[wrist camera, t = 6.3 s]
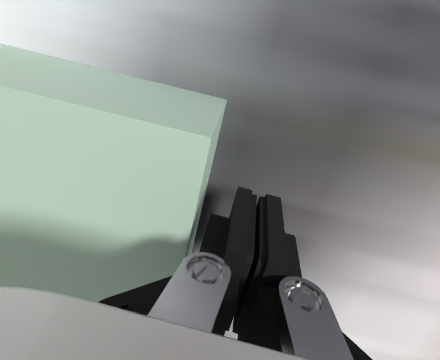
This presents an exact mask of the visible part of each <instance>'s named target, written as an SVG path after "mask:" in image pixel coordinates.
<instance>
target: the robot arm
mask: <svg viewBox="0 0 440 360" xmlns="http://www.w3.org/2000/svg"><path fill="white" fill-rule="evenodd" d="M256 200H257V195H253V194H252V190H249V189H245V188H241V187H238V189H237V192H236V196H235V199H234V203H233V206H232V210H231V214H230V217H229V218H226V217H222V216H219V215H215V214H211V215H210V218H209V221H208V224H207V228H206V231H205V234H204V238H203V241H202V244H201V248H200V251H199V252H196V253H192V254H189V255H187V256H186V257H185V258H184V259H183V260H182V262H181V264H180V265H179V267H178V268H177V270H176V271H175V273H174V275H172V276H170V277H167V278H164V279H161V280H158V281H155V282H152V283H149V284H146V285H143V286H140V287H137V288H134V289H131V290H129V291H126V292H123V293H120V294H117V295H114V296H111V297H108V298H105V299H103V300H101V301H99V302H94V301H90V300H85V299H81V298H77V297H73V296H68V295H64V294H60V293H55V292H51V291H45V290H39V289H32V288H26V287H11V286H0V360H372V359H371V358H370V357H369V356H368V355H367V354H366V353H365V352H364V351H362V350H361V349H360V348H359V347H358V346H357V345H356V344H355V343H354V342H353V341H352V340H351V339H349V338H348V337H347V336H346V335H345V334H344V333H343V332H342V331H341V329H340V326H339V324H338V322H337V319H336V317H335V315H334V312H333V310H332V308H331V305H330V303H329V301H328V298H327V297H326V295H325V293H324V292H323V291H322V290H321V289H320V288H319V287H318V286H317V285H315V284H314V283H312V282H311V281H308V280H306V279H304V278H302V275H301V269H300V263H299V257H298V251H297V245H296V239H295V236H294V235H290V234H286V233H285V231H284V222H283V213H282V204H281V198H279V197H276V196H272V195H268V194H266V196H265V197H261V196H260V198H259V200H258V203H257V206H256ZM233 317H234V321H233V332H234V333H237V334H238V340H236V339H232V338H229V337H225V336H224V334H225V331H229V328H230V325H231V323H232V320H233Z"/></svg>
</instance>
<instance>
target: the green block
mask: <svg viewBox="0 0 440 360" xmlns="http://www.w3.org/2000/svg"><path fill="white" fill-rule="evenodd" d="M226 102H227V100H225V99H221V98H217V97H213V96H209V95H205V94H201V93H197V92H193V91H189V90H185V89H181V88H177V87H173V86H169V85H165V84H161V83H157V82H153V81H149V80H145V79H141V78H137V77H133V76H129V75H125V74H121V73H117V72H113V71H109V70H105V69H101V68H97V67H92V66H88V65H84V64H80V63H76V62H72V61H68V60H64V59H60V58H56V57H52V56H48V55H44V54H40V53H36V52H32V51H28V50H24V49H20V48H16V47H12V46H8V45H4V44H0V286H11V287H26V288H32V289H39V290H45V291H51V292H55V293H60V294H64V295H68V296H73V297H77V298H81V299H85V300H90V301H94V302H99V301H101V300H103V299H105V298H108V297H111V296H114V295H117V294H120V293H123V292H126V291H129V290H131V289H134V288H137V287H140V286H143V285H146V284H149V283H152V282H155V281H158V280H161V279H164V278H167V277H170V276H172V275H174V273H175V271H176V270H177V268H178V267H179V265H180V264H181V262H182V260H183V259H184V258H185V257H186V256H187V255H189V254H191V253H192V249H193V244H194V240H195V236H196V231H197V227H198V223H199V219H200V214H201V210H202V206H203V201H204V197H205V193H206V188H207V184H208V180H209V175H210V171H211V167H212V162H213V158H214V154H215V149H216V145H217V141H218V136H219V132H220V128H221V124H222V119H223V115H224V111H225V106H226Z"/></svg>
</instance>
